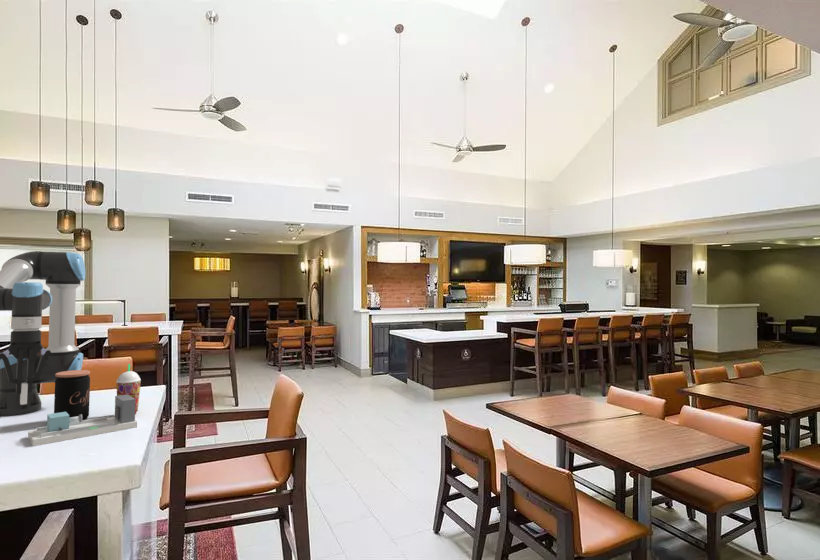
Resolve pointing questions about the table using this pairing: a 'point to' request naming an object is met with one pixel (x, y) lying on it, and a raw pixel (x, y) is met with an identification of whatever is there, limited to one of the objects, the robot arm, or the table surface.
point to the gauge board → (91, 424)
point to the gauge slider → (60, 421)
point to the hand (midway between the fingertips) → (23, 403)
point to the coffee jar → (72, 393)
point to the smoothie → (129, 385)
